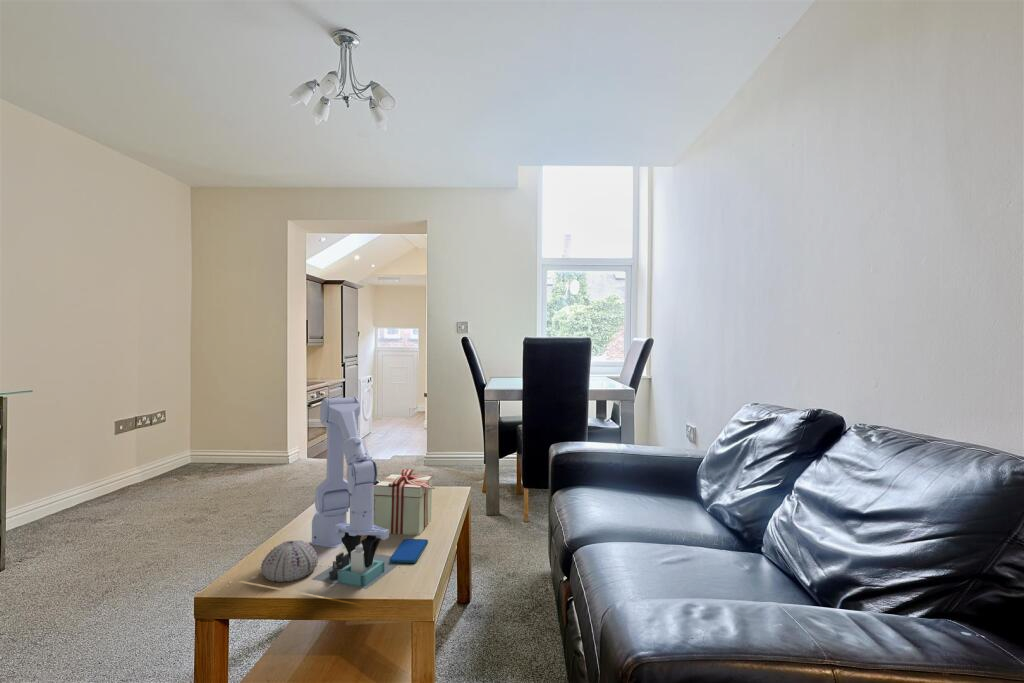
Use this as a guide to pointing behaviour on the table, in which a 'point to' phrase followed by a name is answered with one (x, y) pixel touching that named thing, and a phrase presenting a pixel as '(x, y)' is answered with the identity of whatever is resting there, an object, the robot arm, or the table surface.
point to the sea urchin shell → (289, 561)
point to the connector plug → (359, 560)
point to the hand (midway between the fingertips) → (361, 564)
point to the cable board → (344, 576)
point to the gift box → (404, 503)
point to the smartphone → (409, 551)
